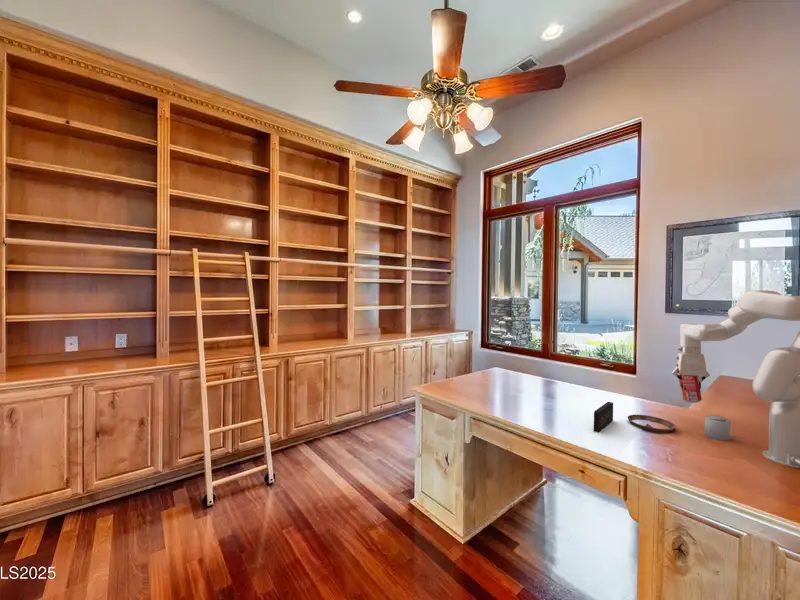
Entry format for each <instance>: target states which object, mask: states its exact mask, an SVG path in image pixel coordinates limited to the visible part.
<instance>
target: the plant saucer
mask: <svg viewBox="0 0 800 600" xmlns="http://www.w3.org/2000/svg"><path fill="white" fill-rule="evenodd" d="M626 418H627V420H628V421H629V423H630V424H631V425H633V426H635V427H637V428H640V429H642V430H644V431H647V432H650V433H656V434H661V433H670V432H672V431H674V429H676V425H675V424H674V423H673V422H671V421H669V420H667V419H664V418H660V417H656V416H652V415H647V414H646V415H645V414H629V415H627V417H626ZM637 420H640V421H641V420H642V421H649V422H651V423H657V424H660V425H663V426H665V427H667V428H658V427H653V426H652V425H650V424H649V423H646V424H645V425H643V424H640V423H637V422H634V421H637Z"/></svg>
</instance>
